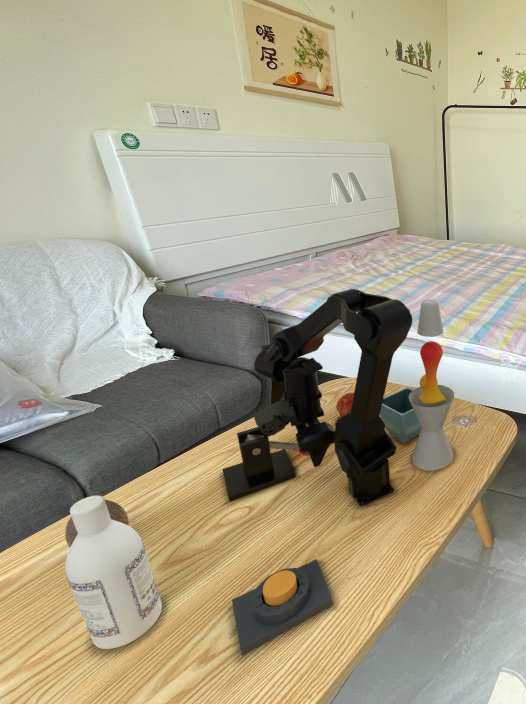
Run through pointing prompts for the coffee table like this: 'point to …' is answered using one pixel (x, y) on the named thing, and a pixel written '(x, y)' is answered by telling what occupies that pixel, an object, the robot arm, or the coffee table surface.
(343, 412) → the pomegranate
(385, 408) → the flower pot
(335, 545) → the coffee table surface
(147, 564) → the bath foam
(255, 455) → the bracket
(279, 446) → the lever
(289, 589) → the button
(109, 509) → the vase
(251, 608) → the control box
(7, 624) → the coffee table surface
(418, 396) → the lava lamp
